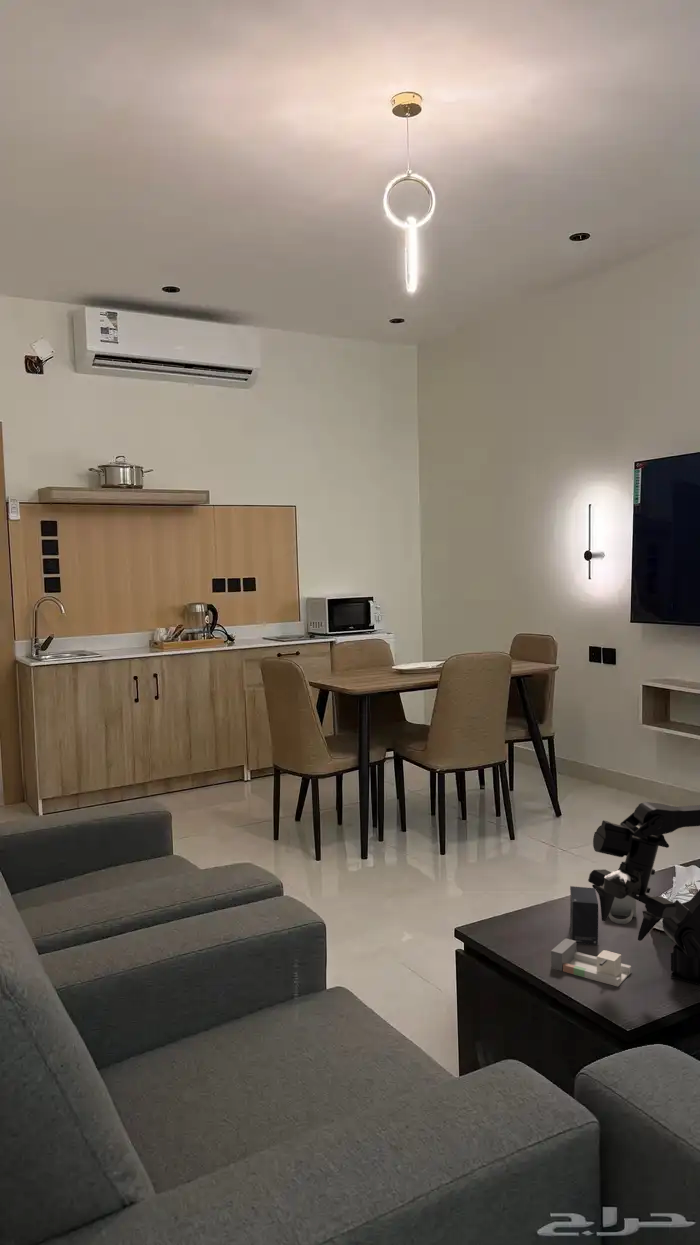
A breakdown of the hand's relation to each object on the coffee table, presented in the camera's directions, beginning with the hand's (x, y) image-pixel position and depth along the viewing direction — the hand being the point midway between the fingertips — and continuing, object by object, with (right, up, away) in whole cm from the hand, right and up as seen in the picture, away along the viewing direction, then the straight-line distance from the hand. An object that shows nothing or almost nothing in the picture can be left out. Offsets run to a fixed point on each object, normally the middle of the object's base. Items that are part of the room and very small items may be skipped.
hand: (621, 930), depth 189 cm
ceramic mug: (+11, -9, +35) cm, 38 cm away
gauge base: (-5, -11, +5) cm, 13 cm away
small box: (-2, -10, +24) cm, 26 cm away
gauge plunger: (-3, -10, +2) cm, 11 cm away
